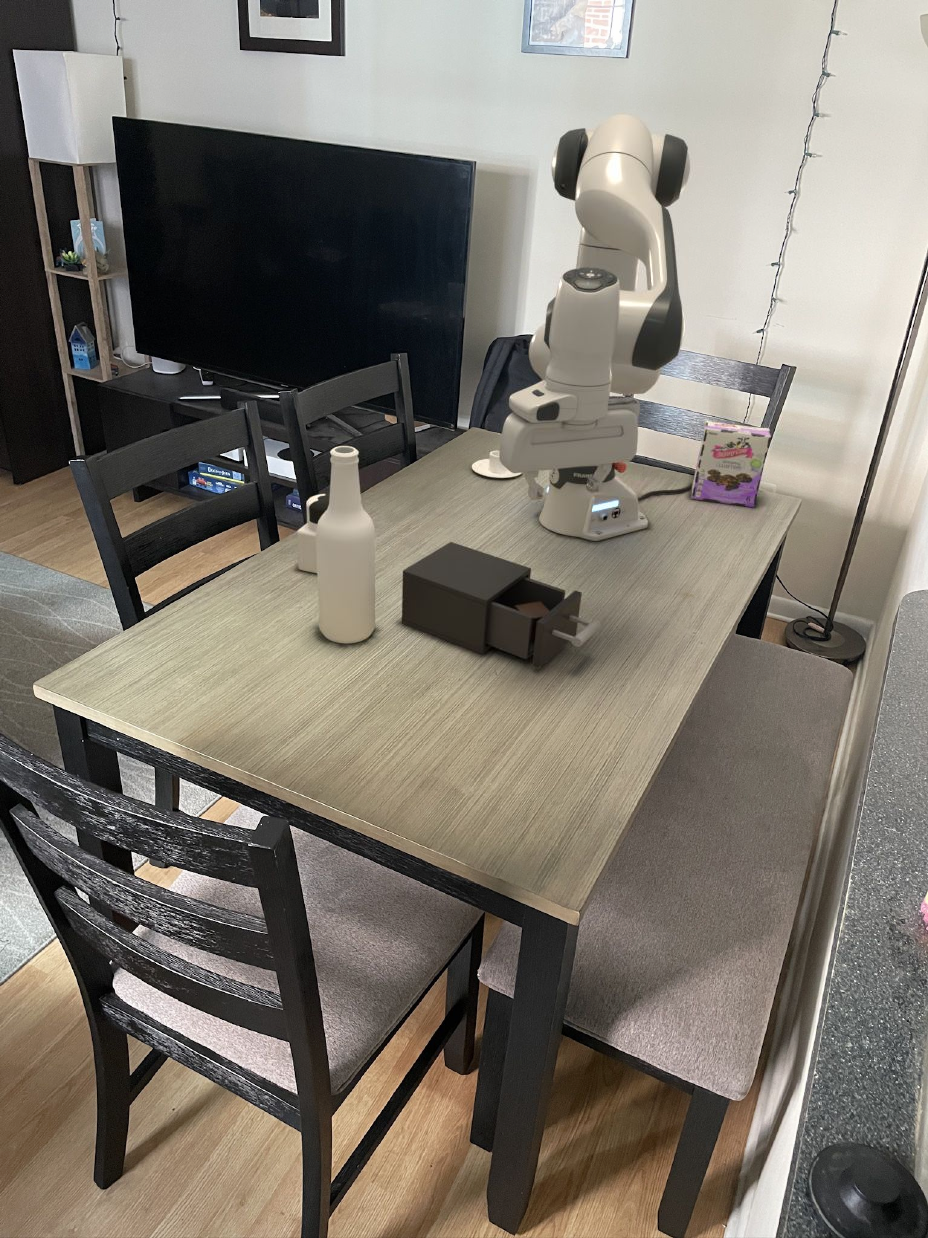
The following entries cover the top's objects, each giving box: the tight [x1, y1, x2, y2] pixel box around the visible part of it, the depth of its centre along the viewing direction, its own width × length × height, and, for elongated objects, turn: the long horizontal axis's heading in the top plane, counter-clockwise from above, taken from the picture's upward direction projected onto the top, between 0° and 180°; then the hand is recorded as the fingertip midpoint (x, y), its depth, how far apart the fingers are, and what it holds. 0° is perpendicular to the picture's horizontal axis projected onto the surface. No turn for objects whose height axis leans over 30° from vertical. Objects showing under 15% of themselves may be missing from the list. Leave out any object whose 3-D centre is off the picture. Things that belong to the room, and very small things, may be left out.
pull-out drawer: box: [486, 577, 601, 669], centre depth 138 cm, size 20×12×8 cm, turn 57°
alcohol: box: [316, 445, 376, 644], centre depth 134 cm, size 9×9×30 cm
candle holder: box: [471, 450, 522, 479], centre depth 205 cm, size 12×12×4 cm
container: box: [296, 493, 330, 574], centre depth 158 cm, size 8×8×13 cm
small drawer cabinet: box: [401, 541, 532, 655], centre depth 144 cm, size 16×14×10 cm
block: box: [515, 601, 550, 643], centre depth 139 cm, size 4×4×4 cm
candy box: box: [691, 420, 772, 508], centre depth 195 cm, size 14×6×16 cm, turn 76°
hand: (564, 494), depth 127 cm, fingers open, 8 cm apart
